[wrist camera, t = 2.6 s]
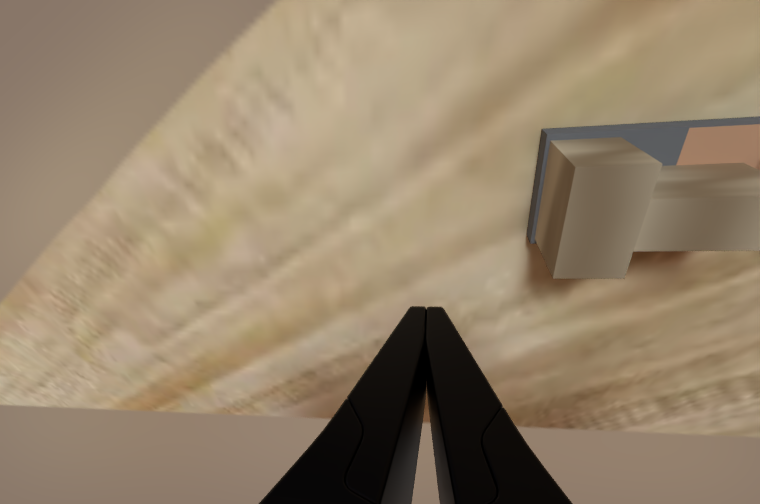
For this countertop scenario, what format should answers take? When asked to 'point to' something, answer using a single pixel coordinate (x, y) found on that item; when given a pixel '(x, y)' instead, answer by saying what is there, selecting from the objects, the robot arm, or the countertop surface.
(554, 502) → the robot arm
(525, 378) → the countertop surface
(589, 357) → the countertop surface
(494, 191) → the countertop surface
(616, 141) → the t block
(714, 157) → the mat
